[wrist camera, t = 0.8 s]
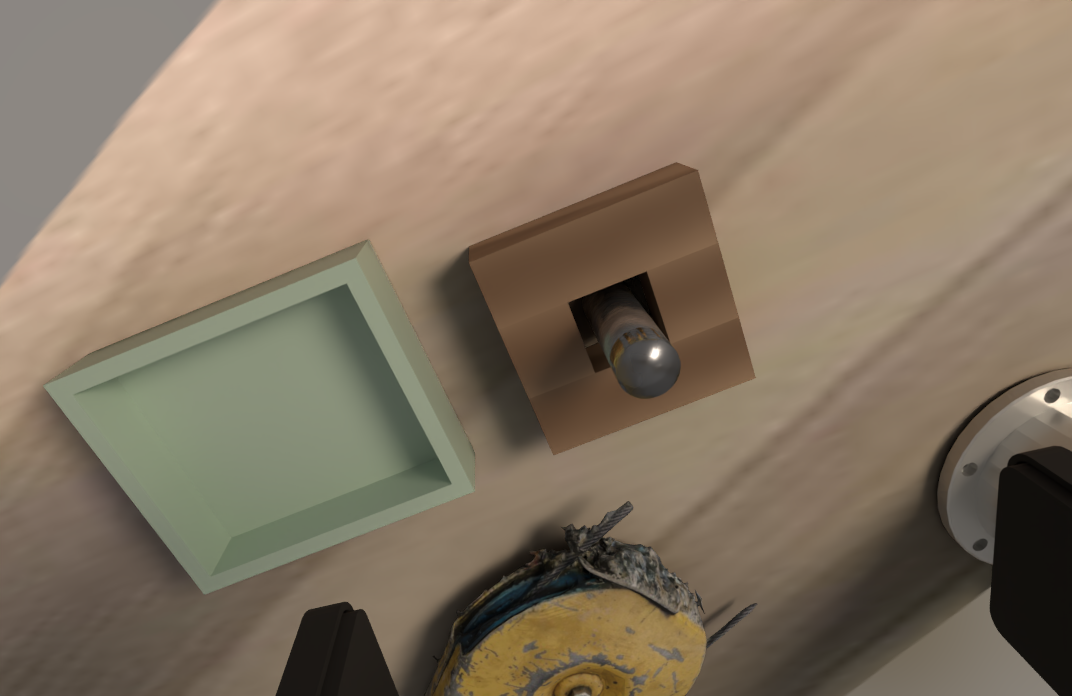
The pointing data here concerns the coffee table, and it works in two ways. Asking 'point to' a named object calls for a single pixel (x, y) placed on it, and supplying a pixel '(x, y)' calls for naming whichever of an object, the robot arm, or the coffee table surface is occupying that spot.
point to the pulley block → (580, 626)
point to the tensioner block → (593, 264)
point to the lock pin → (632, 342)
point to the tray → (273, 420)
